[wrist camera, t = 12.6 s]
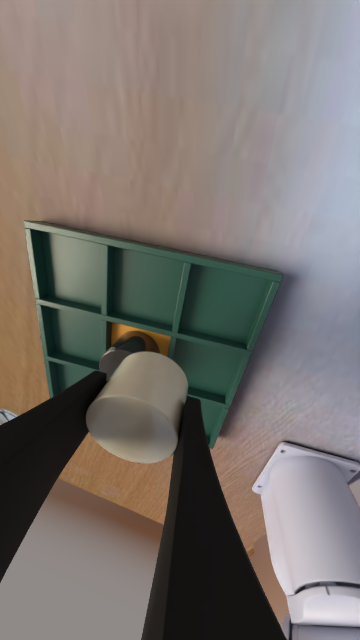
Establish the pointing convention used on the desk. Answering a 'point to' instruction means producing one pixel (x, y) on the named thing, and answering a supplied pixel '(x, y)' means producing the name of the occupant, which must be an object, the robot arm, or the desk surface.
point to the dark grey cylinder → (126, 350)
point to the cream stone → (140, 408)
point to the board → (146, 309)
